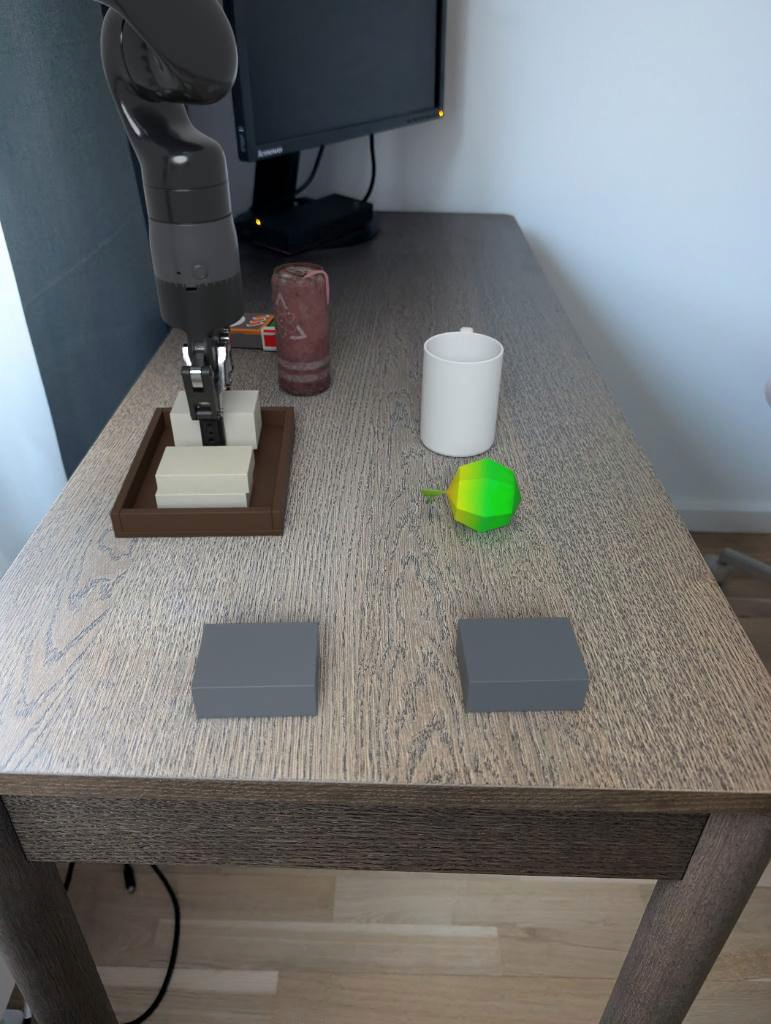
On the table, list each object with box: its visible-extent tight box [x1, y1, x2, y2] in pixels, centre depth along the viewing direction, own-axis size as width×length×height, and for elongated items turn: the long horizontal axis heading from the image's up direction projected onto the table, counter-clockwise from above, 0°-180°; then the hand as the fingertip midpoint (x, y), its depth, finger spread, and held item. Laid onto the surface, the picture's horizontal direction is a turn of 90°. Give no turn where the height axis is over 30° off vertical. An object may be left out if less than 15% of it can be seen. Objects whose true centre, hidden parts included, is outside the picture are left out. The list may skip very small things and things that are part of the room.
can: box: [270, 262, 331, 397], centre depth 88 cm, size 6×6×14 cm
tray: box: [109, 405, 296, 539], centre depth 75 cm, size 15×20×3 cm
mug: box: [419, 326, 505, 458], centre depth 81 cm, size 12×8×10 cm, turn 172°
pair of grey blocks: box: [190, 616, 591, 719], centre depth 54 cm, size 26×6×3 cm, turn 92°
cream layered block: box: [155, 446, 255, 508], centre depth 71 cm, size 8×5×4 cm, turn 92°
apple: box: [420, 457, 523, 534], centre depth 69 cm, size 7×6×9 cm
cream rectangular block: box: [170, 389, 262, 449], centre depth 77 cm, size 8×5×4 cm, turn 92°
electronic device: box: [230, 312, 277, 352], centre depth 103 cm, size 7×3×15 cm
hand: (218, 433), depth 78 cm, fingers closed on cream rectangular block, 5 cm apart
